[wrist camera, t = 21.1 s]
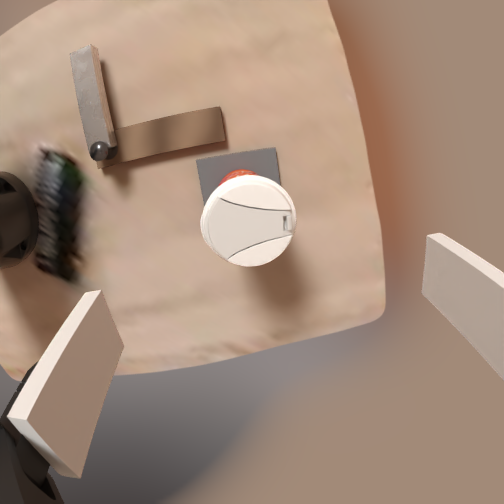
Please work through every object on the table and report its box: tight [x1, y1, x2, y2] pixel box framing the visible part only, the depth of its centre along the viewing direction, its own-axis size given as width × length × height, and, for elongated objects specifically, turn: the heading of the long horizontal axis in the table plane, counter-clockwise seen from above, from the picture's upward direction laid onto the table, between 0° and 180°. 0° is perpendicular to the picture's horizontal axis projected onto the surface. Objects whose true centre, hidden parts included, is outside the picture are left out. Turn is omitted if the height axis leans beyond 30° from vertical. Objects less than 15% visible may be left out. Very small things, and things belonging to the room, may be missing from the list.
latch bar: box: [70, 45, 118, 161], centre depth 32 cm, size 15×3×3 cm, turn 12°
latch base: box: [96, 107, 225, 169], centre depth 37 cm, size 17×4×1 cm, turn 98°
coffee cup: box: [200, 169, 296, 267], centre depth 33 cm, size 8×8×15 cm
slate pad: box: [196, 147, 280, 206], centre depth 41 cm, size 10×10×1 cm
